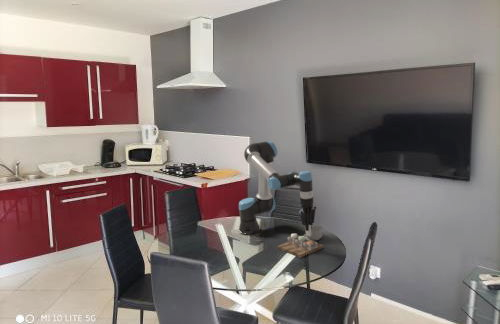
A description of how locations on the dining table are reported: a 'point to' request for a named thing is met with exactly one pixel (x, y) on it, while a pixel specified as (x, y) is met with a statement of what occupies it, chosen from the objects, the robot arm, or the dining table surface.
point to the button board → (299, 247)
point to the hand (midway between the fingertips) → (308, 235)
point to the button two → (301, 238)
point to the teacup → (315, 233)
